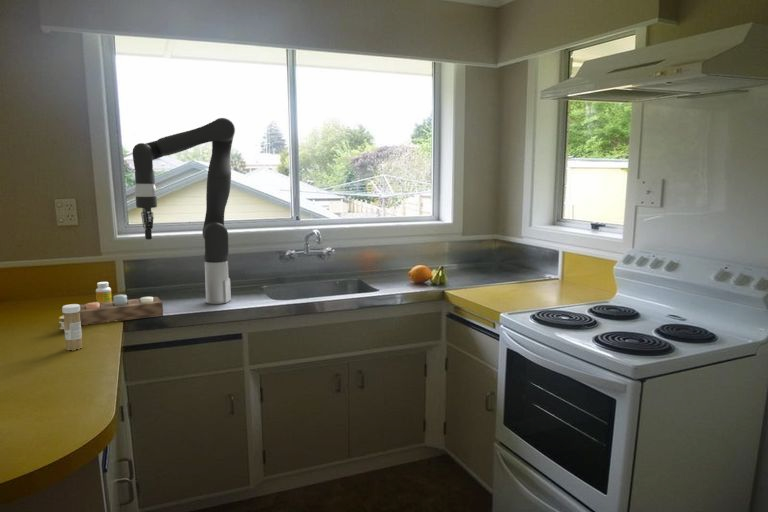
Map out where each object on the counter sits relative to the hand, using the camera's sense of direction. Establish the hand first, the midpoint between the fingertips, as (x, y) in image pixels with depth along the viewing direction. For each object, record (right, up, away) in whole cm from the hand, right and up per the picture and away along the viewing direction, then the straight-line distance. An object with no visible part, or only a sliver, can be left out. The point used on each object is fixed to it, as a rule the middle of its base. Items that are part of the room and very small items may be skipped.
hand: (148, 239), depth 206 cm
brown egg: (-11, -29, -19) cm, 36 cm away
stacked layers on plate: (-12, -32, -31) cm, 46 cm away
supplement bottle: (-18, -27, +2) cm, 33 cm away
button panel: (-4, -29, -14) cm, 33 cm away
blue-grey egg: (-4, -26, -14) cm, 30 cm away
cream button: (+4, -28, -9) cm, 29 cm away
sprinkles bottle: (0, -35, -49) cm, 60 cm away
